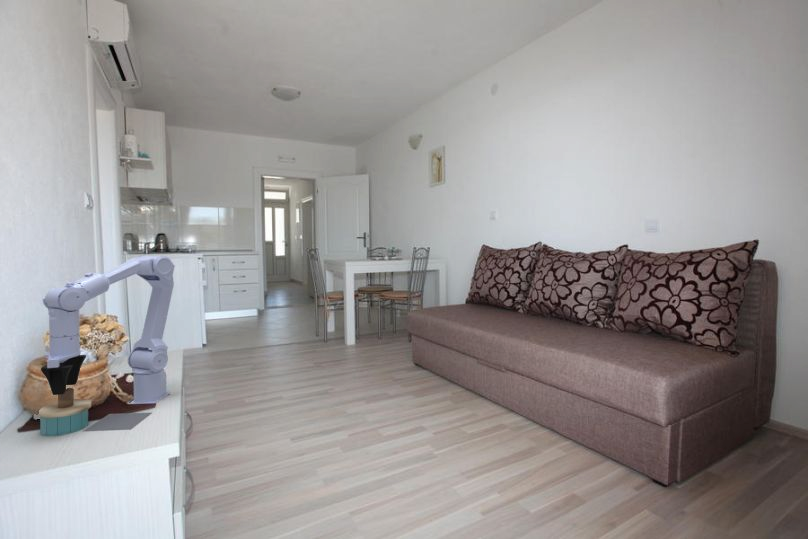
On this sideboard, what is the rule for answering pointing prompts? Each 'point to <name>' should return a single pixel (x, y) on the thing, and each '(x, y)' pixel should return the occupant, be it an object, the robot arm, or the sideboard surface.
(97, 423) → the mat
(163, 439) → the sideboard surface
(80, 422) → the bowl
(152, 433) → the sideboard surface
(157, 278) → the robot arm
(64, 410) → the lid
